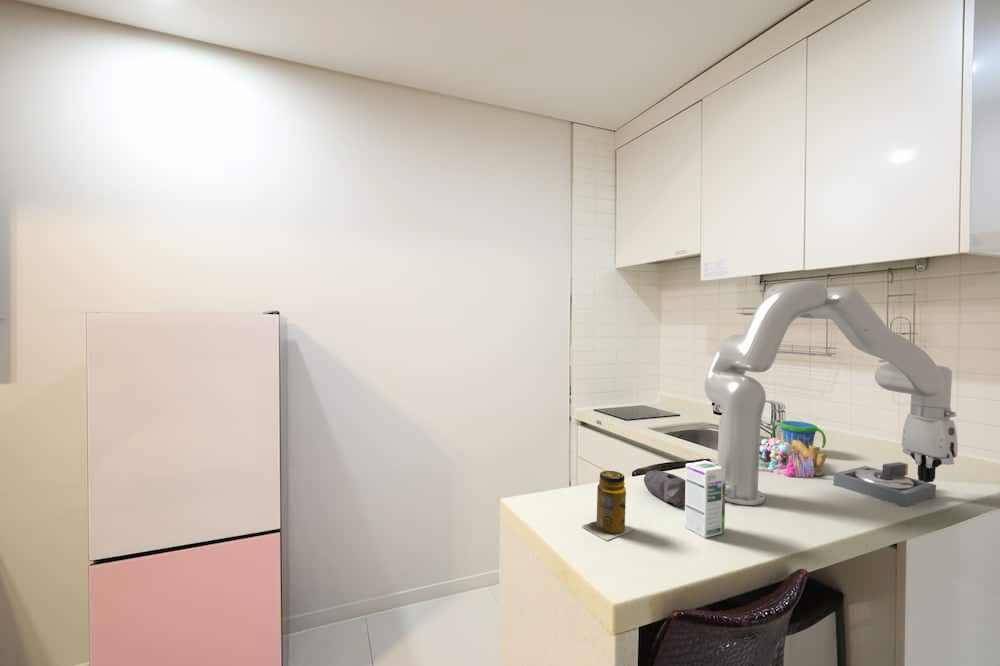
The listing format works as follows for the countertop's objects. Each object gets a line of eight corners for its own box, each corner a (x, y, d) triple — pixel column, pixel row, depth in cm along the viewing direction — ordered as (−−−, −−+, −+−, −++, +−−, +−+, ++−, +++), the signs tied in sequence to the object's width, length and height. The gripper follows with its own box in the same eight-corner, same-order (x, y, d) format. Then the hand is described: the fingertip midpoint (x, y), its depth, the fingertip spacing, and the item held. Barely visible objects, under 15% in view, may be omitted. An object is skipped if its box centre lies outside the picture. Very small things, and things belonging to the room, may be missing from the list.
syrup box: (705, 539, 93) (707, 470, 93) (683, 526, 99) (685, 462, 98) (724, 534, 96) (727, 467, 95) (702, 522, 101) (704, 459, 100)
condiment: (633, 530, 97) (635, 476, 96) (606, 541, 92) (608, 484, 91) (607, 517, 103) (608, 466, 102) (581, 527, 98) (582, 473, 97)
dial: (894, 494, 114) (895, 475, 114) (844, 478, 125) (845, 461, 125) (930, 488, 119) (931, 470, 119) (879, 472, 130) (880, 456, 130)
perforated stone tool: (637, 489, 120) (637, 464, 119) (652, 487, 122) (653, 462, 121) (678, 513, 106) (679, 484, 106) (695, 509, 108) (696, 481, 108)
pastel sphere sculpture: (795, 455, 153) (796, 429, 153) (842, 481, 130) (843, 449, 129) (719, 452, 155) (720, 426, 155) (752, 477, 131) (753, 446, 131)
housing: (904, 506, 111) (905, 493, 111) (833, 484, 126) (834, 472, 126) (935, 496, 118) (936, 484, 118) (864, 476, 132) (865, 465, 132)
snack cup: (766, 450, 158) (767, 421, 157) (778, 445, 164) (779, 417, 164) (818, 462, 146) (820, 431, 145) (829, 456, 152) (830, 426, 152)
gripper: (976, 417, 111) (971, 490, 112) (907, 405, 126) (903, 470, 126) (955, 419, 109) (951, 493, 110) (887, 407, 123) (884, 472, 124)
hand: (925, 480), depth 118 cm, fingers closed
